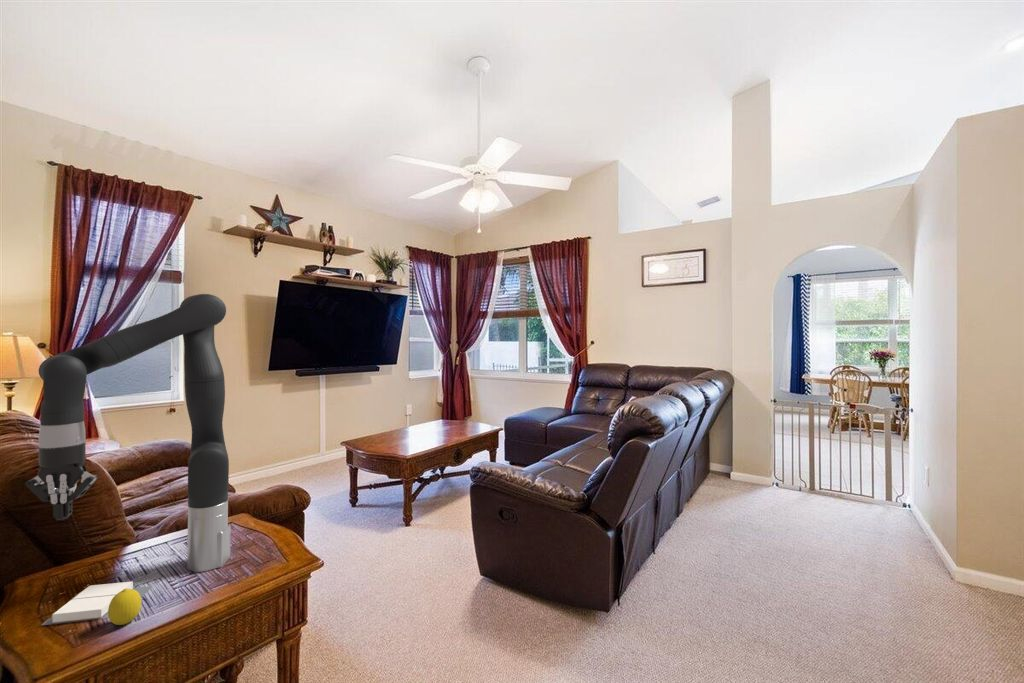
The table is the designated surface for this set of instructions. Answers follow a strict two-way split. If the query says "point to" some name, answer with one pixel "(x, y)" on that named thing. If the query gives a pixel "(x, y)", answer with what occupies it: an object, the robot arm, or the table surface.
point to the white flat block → (104, 590)
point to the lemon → (124, 607)
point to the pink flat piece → (82, 609)
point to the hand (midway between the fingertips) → (62, 518)
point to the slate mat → (140, 590)
